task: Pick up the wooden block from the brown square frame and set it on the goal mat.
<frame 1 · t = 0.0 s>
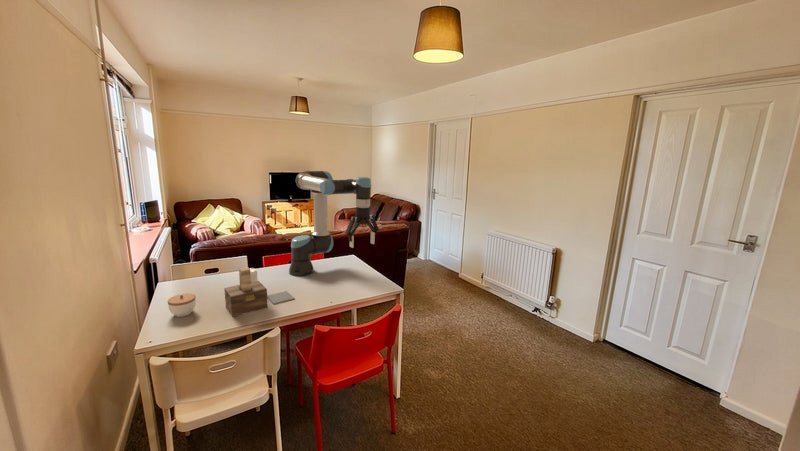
hand: (362, 245, 175), 28 cm above the table, tool pointing down, fingers open, 13 cm apart
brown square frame: (246, 307, 159), on the table
wooden block: (246, 296, 157), point 6 cm above the table, touching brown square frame
goal mat: (280, 298, 170), on the table
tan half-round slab: (250, 291, 177), on the table
lidded jar: (183, 314, 150), on the table
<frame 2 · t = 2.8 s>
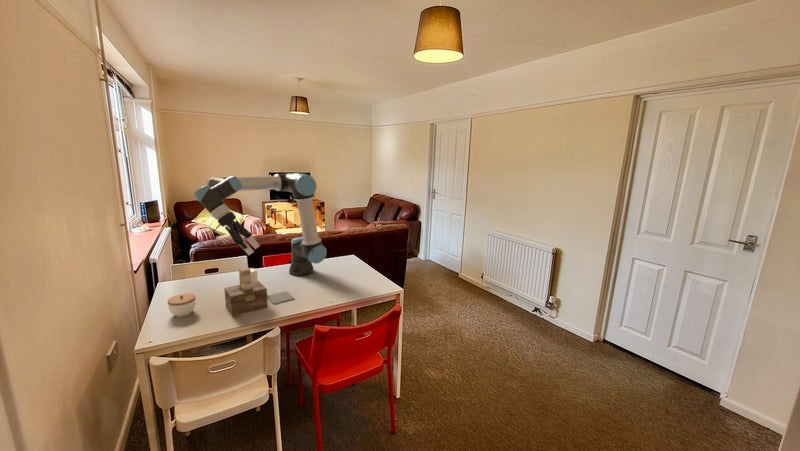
hand: (254, 250, 156), 28 cm above the table, tool tilted 40°, fingers open, 13 cm apart
nothing on the table moved.
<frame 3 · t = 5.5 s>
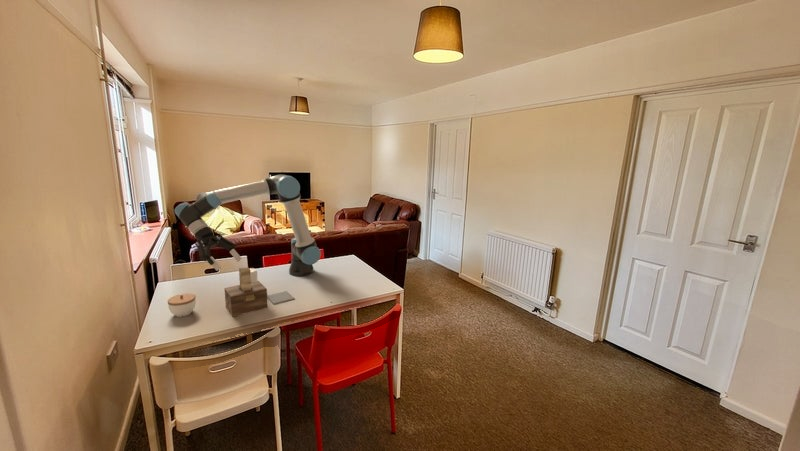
hand: (229, 264, 155), 22 cm above the table, tool tilted 45°, fingers open, 13 cm apart
nothing on the table moved.
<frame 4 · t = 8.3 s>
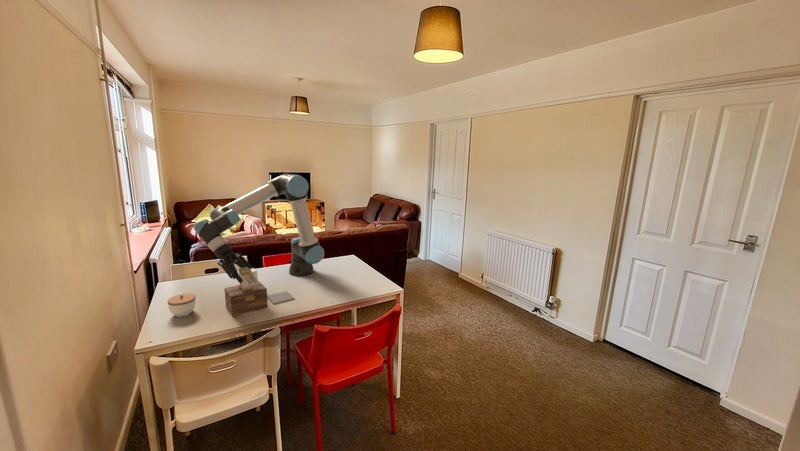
hand: (251, 283, 155), 13 cm above the table, tool tilted 45°, fingers closed on wooden block, 6 cm apart
wooden block: (246, 296, 157), point 6 cm above the table, touching gripper, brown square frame
everything else where it was.
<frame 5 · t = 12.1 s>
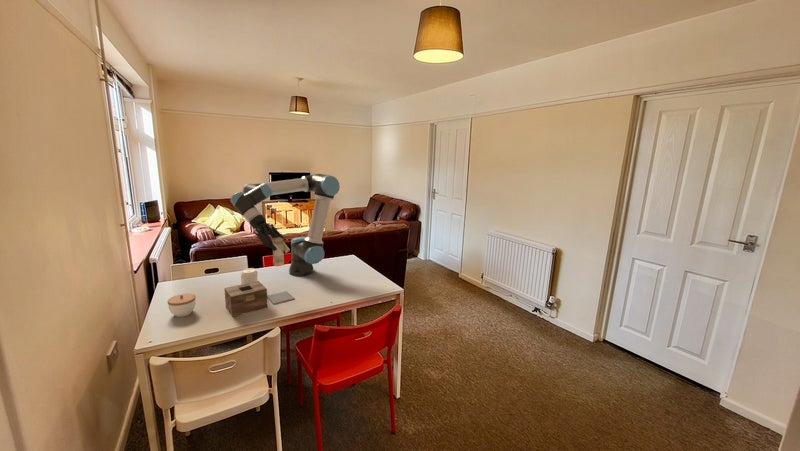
hand: (284, 252, 164), 25 cm above the table, tool tilted 45°, fingers closed on wooden block, 6 cm apart
wooden block: (278, 264, 166), point 19 cm above the table, touching gripper
everything else where it was.
when the fingers open (8 cm above the table, at t = 16.2 s): wooden block drops 1 cm, resting on goal mat.
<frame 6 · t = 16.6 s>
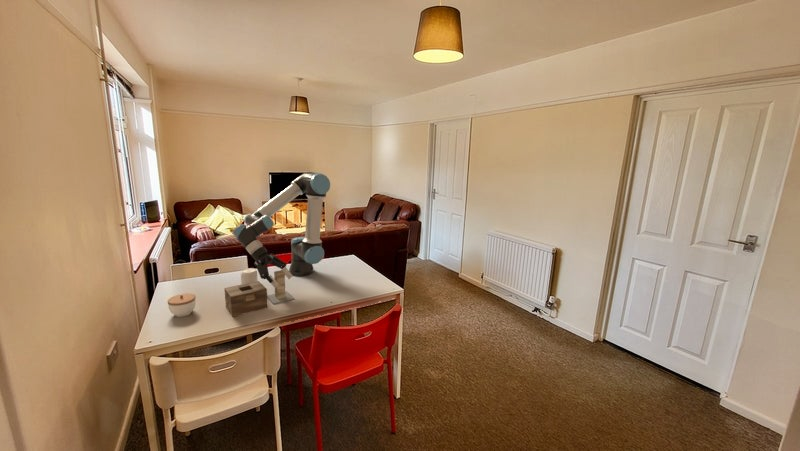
hand: (284, 281, 168), 9 cm above the table, tool tilted 45°, fingers open, 12 cm apart
wooden block: (280, 297, 170), point 1 cm above the table, touching goal mat
everything else where it was.
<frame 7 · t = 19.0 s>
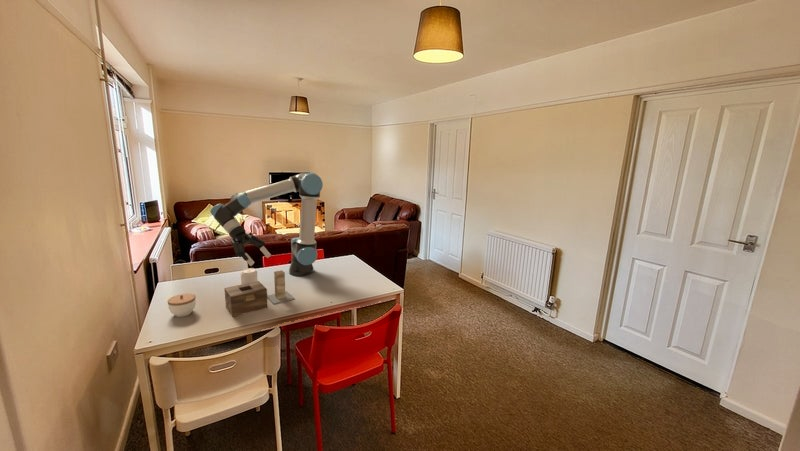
hand: (261, 260, 168), 20 cm above the table, tool tilted 45°, fingers open, 13 cm apart
nothing on the table moved.
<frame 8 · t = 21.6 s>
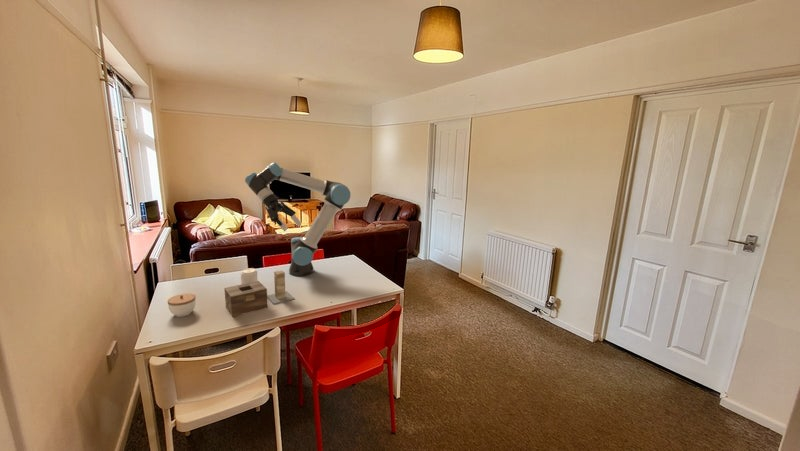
hand: (293, 227, 176), 36 cm above the table, tool tilted 45°, fingers open, 13 cm apart
nothing on the table moved.
at the end: wooden block inside the target area (0.0 cm from its centre), point 0.6 cm above the table; the gripper is holding nothing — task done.
